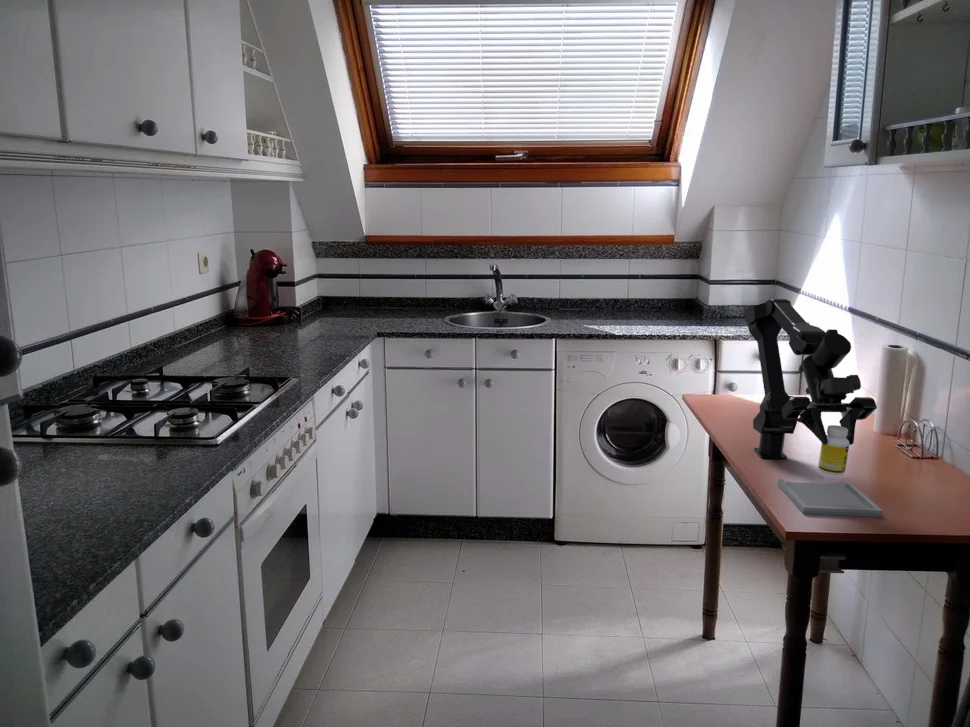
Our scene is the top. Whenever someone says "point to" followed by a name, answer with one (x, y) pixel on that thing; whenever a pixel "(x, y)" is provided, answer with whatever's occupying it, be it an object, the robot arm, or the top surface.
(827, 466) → the supplement bottle
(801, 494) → the gray tray
